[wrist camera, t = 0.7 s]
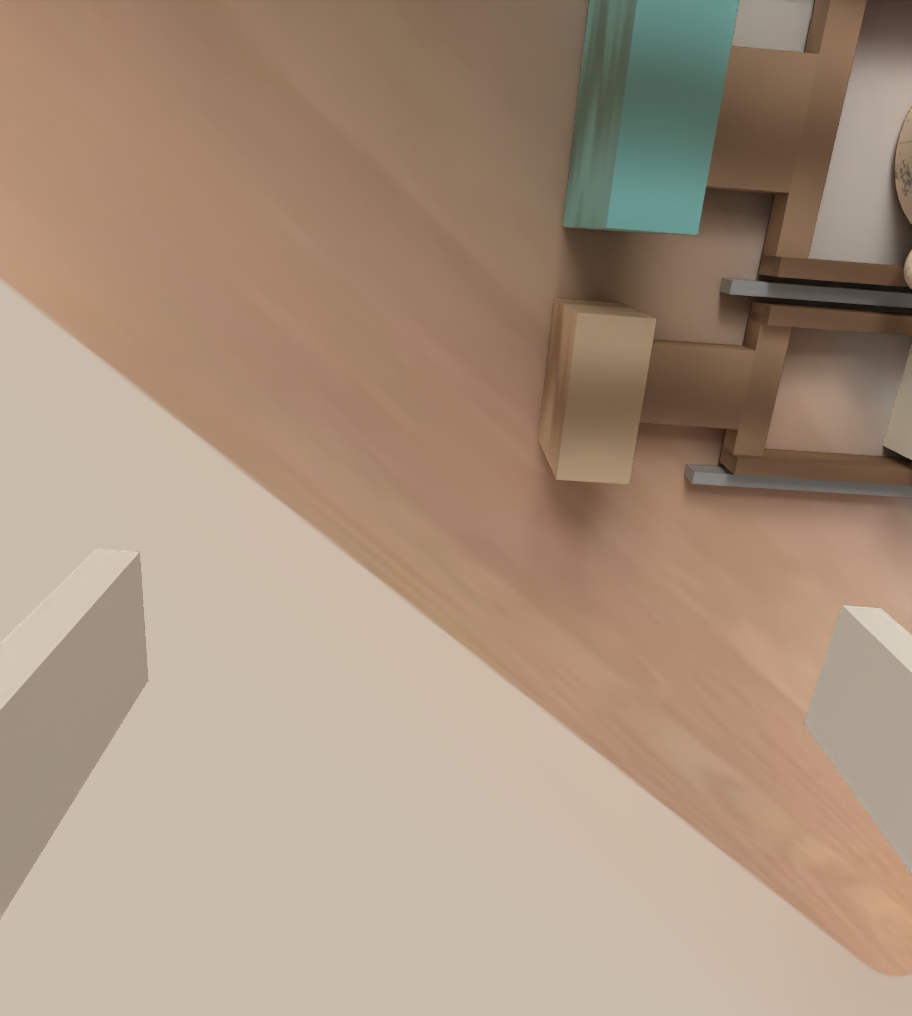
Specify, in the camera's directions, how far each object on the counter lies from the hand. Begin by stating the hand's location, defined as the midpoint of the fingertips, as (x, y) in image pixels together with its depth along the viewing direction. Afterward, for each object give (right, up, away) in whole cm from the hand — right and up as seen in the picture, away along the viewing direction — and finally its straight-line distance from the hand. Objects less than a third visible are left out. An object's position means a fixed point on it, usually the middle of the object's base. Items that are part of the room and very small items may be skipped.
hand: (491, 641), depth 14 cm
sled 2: (+16, +8, +21) cm, 28 cm away
